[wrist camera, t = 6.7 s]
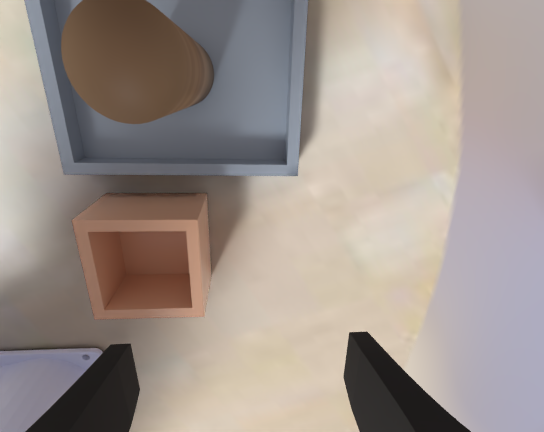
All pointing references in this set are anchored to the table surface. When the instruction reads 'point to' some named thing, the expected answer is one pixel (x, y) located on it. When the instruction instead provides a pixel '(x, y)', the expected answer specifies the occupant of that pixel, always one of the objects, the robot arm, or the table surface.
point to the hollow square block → (146, 254)
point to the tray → (200, 117)
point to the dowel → (133, 61)
